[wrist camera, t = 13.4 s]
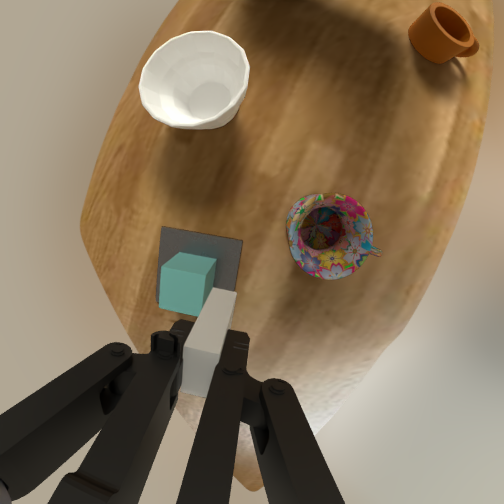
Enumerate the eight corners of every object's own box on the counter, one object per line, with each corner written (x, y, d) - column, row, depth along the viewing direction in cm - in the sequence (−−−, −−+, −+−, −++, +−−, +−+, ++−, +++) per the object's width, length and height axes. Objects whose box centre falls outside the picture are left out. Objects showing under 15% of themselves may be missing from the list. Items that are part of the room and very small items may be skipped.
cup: (153, 112, 36) (118, 92, 25) (208, 52, 33) (190, 15, 23) (214, 160, 37) (194, 150, 27) (272, 96, 35) (274, 65, 24)
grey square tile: (162, 226, 40) (145, 233, 34) (242, 240, 40) (238, 250, 33) (156, 300, 43) (141, 317, 36) (229, 316, 43) (224, 337, 36)
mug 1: (273, 244, 40) (276, 265, 29) (295, 181, 38) (306, 180, 27) (349, 270, 40) (374, 296, 30) (371, 211, 38) (404, 220, 28)
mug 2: (459, 82, 31) (487, 70, 23) (404, 46, 31) (427, 25, 22) (462, 49, 29) (487, 35, 20) (410, 15, 29) (431, -7, 20)
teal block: (179, 252, 40) (161, 266, 33) (216, 259, 40) (205, 275, 33) (176, 287, 41) (158, 307, 34) (211, 294, 41) (200, 317, 34)
